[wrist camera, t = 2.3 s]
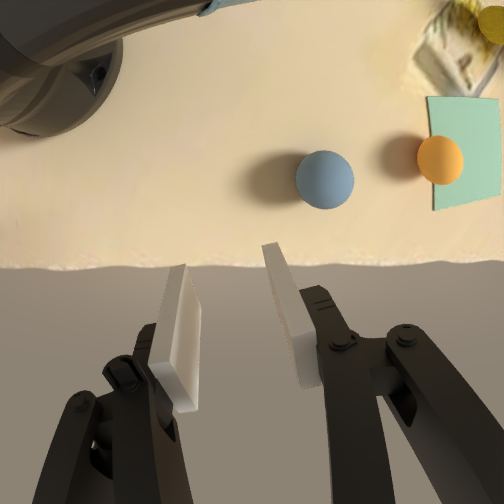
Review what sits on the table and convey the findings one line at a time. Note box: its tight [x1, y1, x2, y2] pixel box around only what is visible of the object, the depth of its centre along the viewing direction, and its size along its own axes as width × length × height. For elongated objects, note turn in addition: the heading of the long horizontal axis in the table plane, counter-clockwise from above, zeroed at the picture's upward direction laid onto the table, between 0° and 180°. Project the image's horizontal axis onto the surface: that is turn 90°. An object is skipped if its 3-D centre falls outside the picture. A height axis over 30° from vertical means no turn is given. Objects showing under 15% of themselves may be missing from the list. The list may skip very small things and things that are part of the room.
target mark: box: [427, 97, 502, 211], centre depth 30 cm, size 14×14×1 cm
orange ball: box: [417, 135, 463, 185], centre depth 28 cm, size 6×6×6 cm
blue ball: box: [295, 151, 354, 209], centre depth 28 cm, size 6×6×6 cm
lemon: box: [478, 6, 504, 45], centre depth 19 cm, size 6×6×8 cm
